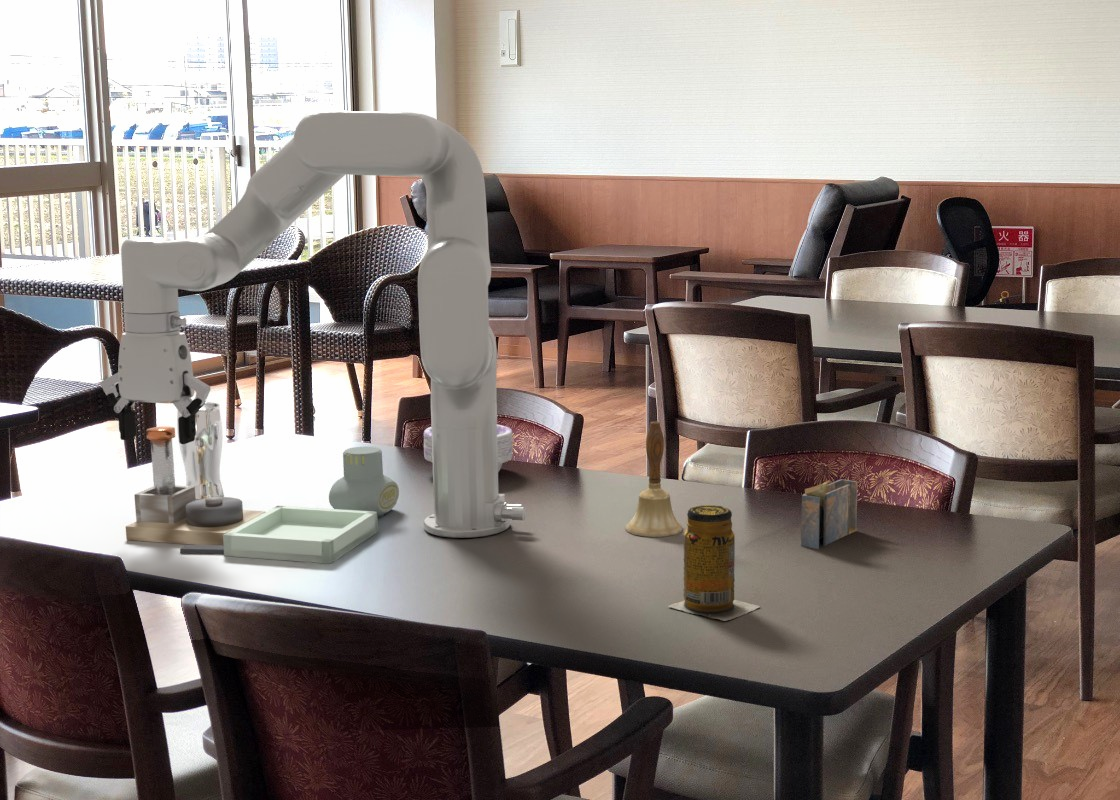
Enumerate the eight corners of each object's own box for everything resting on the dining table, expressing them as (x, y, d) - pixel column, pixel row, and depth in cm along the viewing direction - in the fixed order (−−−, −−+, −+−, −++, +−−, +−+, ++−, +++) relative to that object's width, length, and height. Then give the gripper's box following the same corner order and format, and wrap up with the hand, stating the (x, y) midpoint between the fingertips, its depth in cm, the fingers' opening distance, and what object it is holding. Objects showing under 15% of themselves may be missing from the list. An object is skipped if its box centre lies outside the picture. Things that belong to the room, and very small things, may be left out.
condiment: (704, 593, 167) (704, 499, 165) (760, 608, 162) (762, 511, 160) (667, 608, 162) (667, 511, 160) (724, 623, 157) (725, 523, 154)
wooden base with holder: (266, 524, 202) (264, 485, 201) (225, 546, 191) (223, 505, 189) (171, 518, 206) (168, 479, 205) (125, 539, 195) (122, 499, 194)
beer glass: (232, 491, 222) (226, 402, 219) (217, 502, 215) (211, 410, 213) (191, 491, 223) (185, 401, 220) (175, 502, 216) (169, 409, 213)
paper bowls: (530, 470, 234) (529, 425, 233) (479, 489, 221) (478, 441, 220) (459, 460, 242) (458, 417, 241) (406, 478, 229) (404, 432, 228)
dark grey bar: (282, 550, 188) (282, 546, 188) (278, 554, 186) (278, 550, 186) (185, 548, 190) (185, 544, 190) (180, 553, 188) (179, 548, 188)
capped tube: (185, 514, 201) (180, 427, 198) (171, 521, 197) (165, 432, 195) (162, 512, 202) (156, 426, 199) (147, 519, 198) (140, 431, 196)
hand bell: (693, 526, 197) (693, 419, 194) (665, 540, 190) (665, 429, 188) (643, 519, 202) (643, 414, 199) (614, 532, 195) (614, 423, 192)
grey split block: (820, 552, 185) (821, 483, 183) (800, 549, 187) (802, 480, 185) (859, 534, 193) (860, 468, 192) (839, 530, 195) (841, 465, 194)
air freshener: (357, 503, 214) (355, 441, 212) (405, 507, 211) (402, 444, 209) (323, 521, 204) (320, 456, 202) (372, 525, 201) (370, 459, 199)
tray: (377, 531, 197) (377, 511, 197) (330, 563, 182) (329, 542, 181) (278, 525, 201) (277, 505, 201) (224, 555, 186) (222, 534, 186)
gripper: (219, 323, 196) (223, 438, 199) (114, 318, 200) (120, 431, 203) (191, 329, 188) (197, 449, 191) (84, 324, 193) (90, 441, 196)
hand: (157, 440), depth 197 cm, fingers open, 9 cm apart
